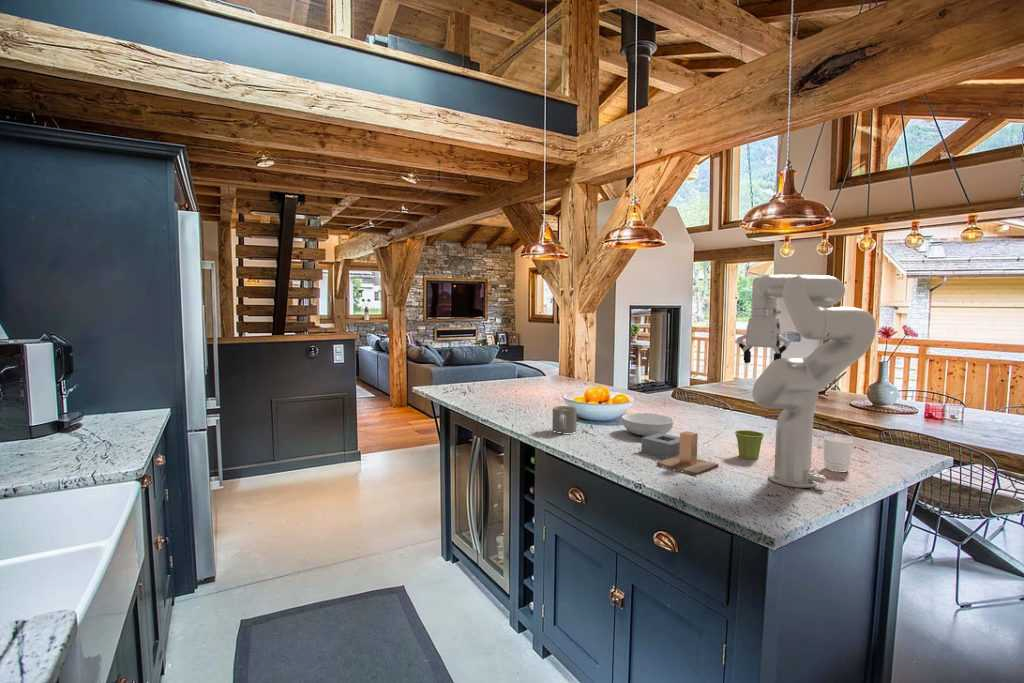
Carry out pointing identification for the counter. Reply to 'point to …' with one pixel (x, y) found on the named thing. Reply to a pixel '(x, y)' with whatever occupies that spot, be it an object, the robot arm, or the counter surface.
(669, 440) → the socket block
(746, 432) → the plant pot
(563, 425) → the coffee mug
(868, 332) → the robot arm
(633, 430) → the serving bowl
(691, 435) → the copper peg
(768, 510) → the counter surface
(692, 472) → the walnut mat
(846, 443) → the white cup
